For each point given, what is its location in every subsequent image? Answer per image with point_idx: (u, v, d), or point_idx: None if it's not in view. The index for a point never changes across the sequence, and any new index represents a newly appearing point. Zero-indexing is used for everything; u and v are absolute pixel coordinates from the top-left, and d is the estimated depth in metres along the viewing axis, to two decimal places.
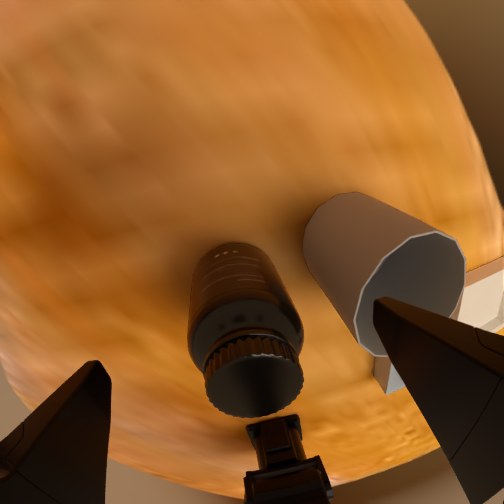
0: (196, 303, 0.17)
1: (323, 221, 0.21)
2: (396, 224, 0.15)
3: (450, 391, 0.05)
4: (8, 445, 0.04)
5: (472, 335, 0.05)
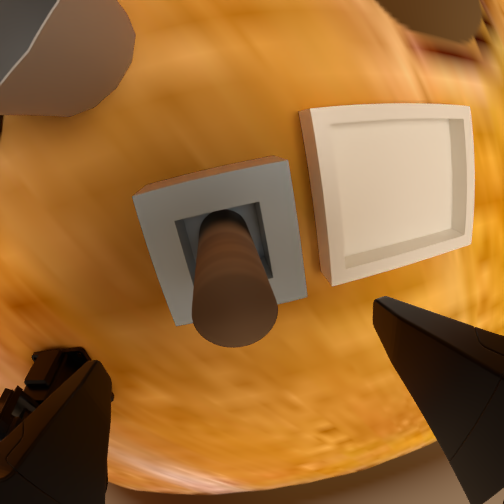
0: None
1: None
2: None
3: (450, 391, 0.05)
4: (8, 445, 0.04)
5: (472, 335, 0.05)
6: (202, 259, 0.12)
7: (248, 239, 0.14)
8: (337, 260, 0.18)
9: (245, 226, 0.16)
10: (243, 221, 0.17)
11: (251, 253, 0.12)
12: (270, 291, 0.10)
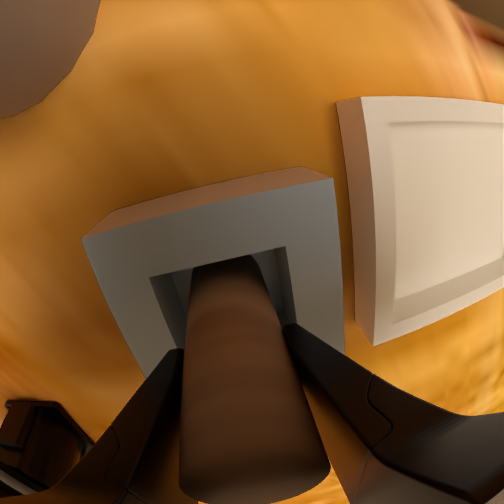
0: None
1: None
2: None
3: (336, 441, 0.05)
4: (100, 458, 0.04)
5: (362, 385, 0.05)
6: (193, 370, 0.06)
7: (270, 316, 0.08)
8: (384, 315, 0.12)
9: (260, 279, 0.11)
10: (256, 268, 0.11)
11: (280, 360, 0.06)
12: (323, 457, 0.04)
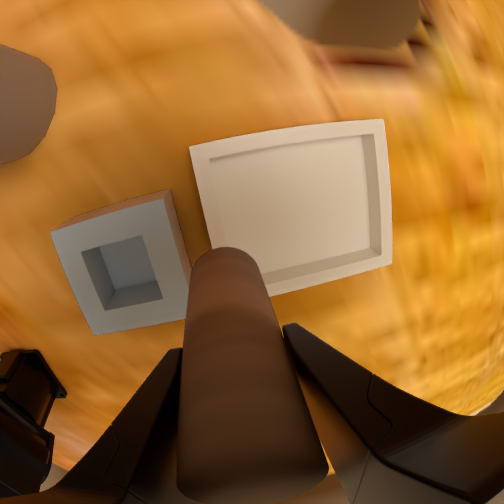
0: None
1: None
2: None
3: (336, 441, 0.05)
4: (100, 458, 0.04)
5: (362, 385, 0.05)
6: (191, 371, 0.06)
7: (268, 317, 0.08)
8: None
9: (259, 279, 0.11)
10: (255, 268, 0.11)
11: (278, 361, 0.06)
12: (320, 459, 0.04)
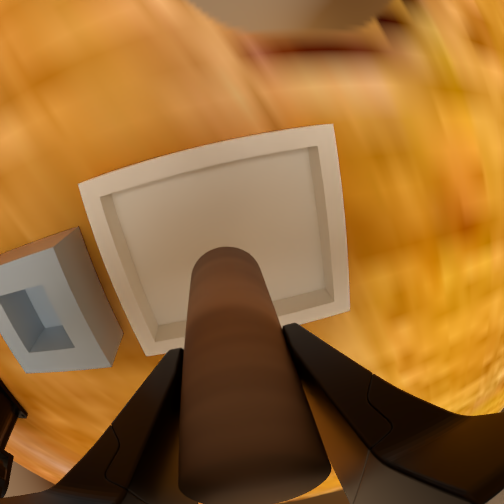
0: None
1: None
2: None
3: (336, 441, 0.05)
4: (100, 458, 0.04)
5: (362, 385, 0.05)
6: (192, 371, 0.06)
7: (270, 316, 0.08)
8: (142, 333, 0.16)
9: (260, 279, 0.11)
10: (256, 268, 0.11)
11: (280, 361, 0.06)
12: (323, 459, 0.04)
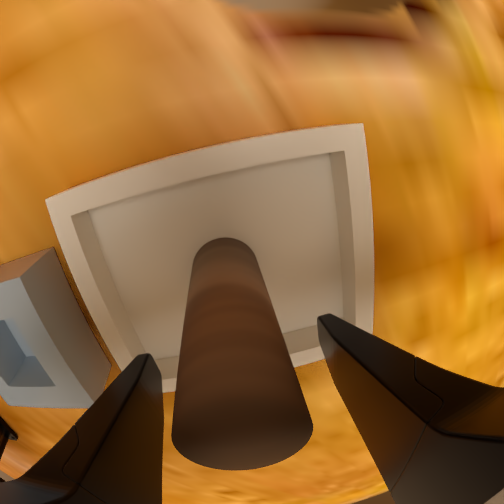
0: None
1: None
2: None
3: (382, 424, 0.05)
4: (61, 454, 0.04)
5: (408, 367, 0.05)
6: (189, 336, 0.07)
7: (261, 294, 0.09)
8: None
9: (255, 265, 0.12)
10: (252, 256, 0.12)
11: (268, 328, 0.07)
12: (304, 412, 0.05)
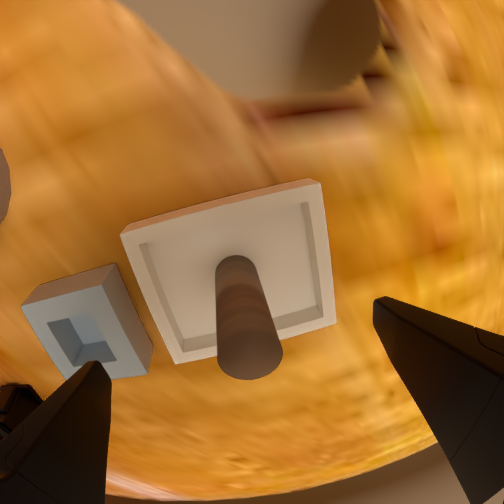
0: None
1: None
2: None
3: (450, 391, 0.05)
4: (8, 445, 0.04)
5: (472, 335, 0.05)
6: (222, 311, 0.15)
7: (258, 289, 0.17)
8: (173, 346, 0.21)
9: (255, 272, 0.19)
10: (253, 267, 0.20)
11: (261, 305, 0.15)
12: (276, 340, 0.13)
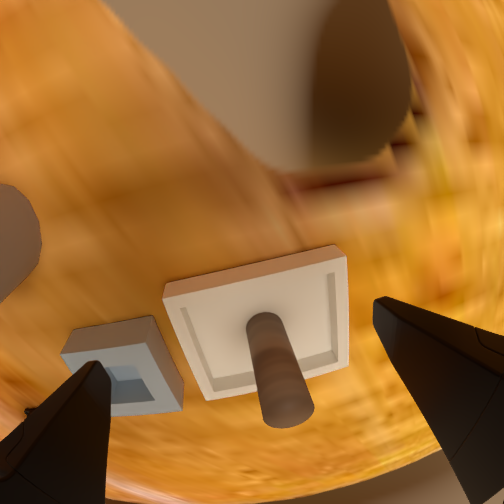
0: None
1: None
2: None
3: (450, 391, 0.05)
4: (8, 445, 0.04)
5: (472, 335, 0.05)
6: (263, 374, 0.17)
7: (290, 351, 0.19)
8: (205, 387, 0.23)
9: (284, 331, 0.21)
10: (281, 324, 0.22)
11: (295, 369, 0.17)
12: (310, 401, 0.15)
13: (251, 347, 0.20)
